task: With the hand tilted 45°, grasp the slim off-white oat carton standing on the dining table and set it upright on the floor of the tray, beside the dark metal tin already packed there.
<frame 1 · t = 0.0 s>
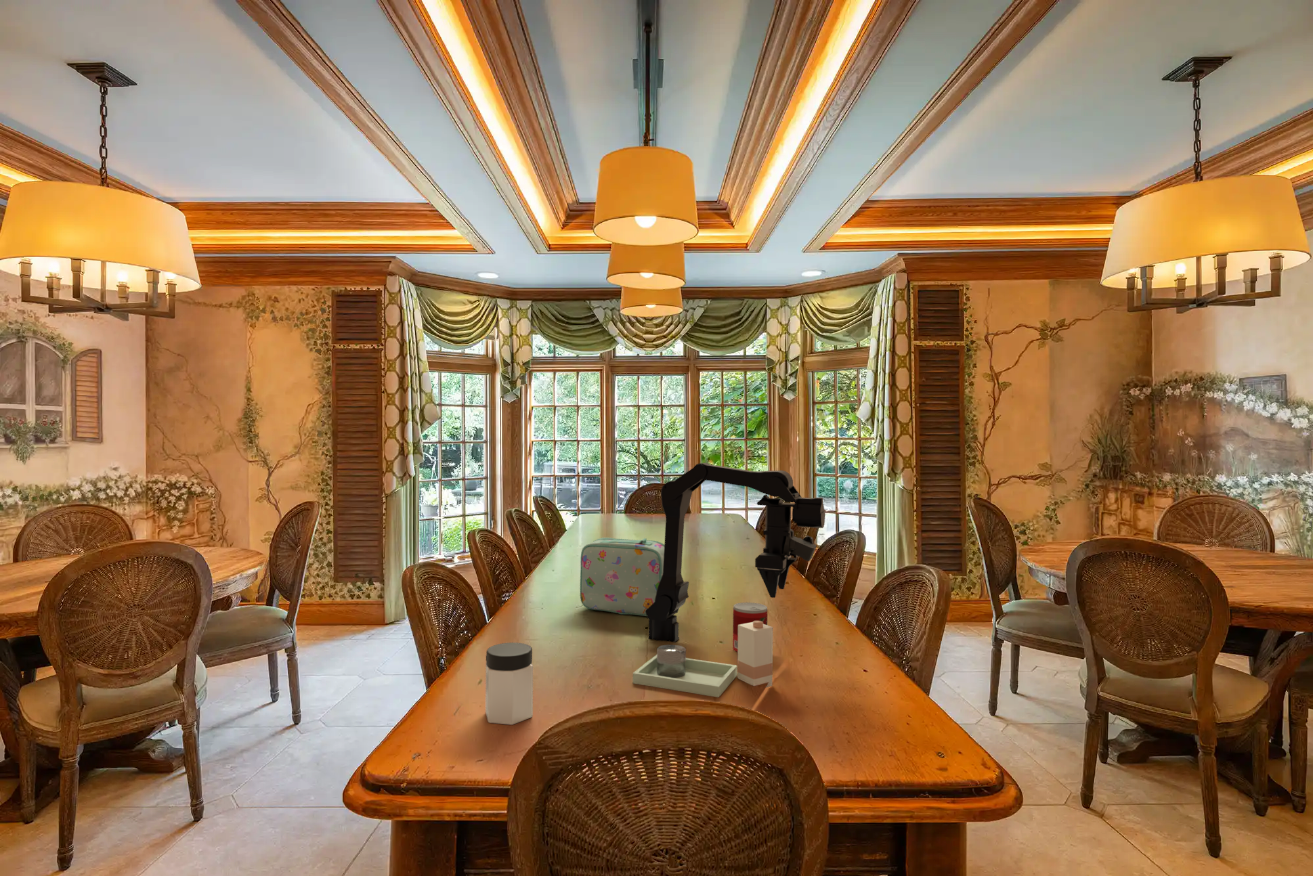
hand: (777, 593, 157), 15 cm above the table, tool pointing down, fingers open, 9 cm apart
jar: (508, 716, 123), on the table
oat carton: (754, 684, 139), on the table
canned food: (749, 654, 159), on the table
tray: (685, 683, 139), on the table
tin: (671, 673, 143), point 1 cm above the table, touching tray
lunch box: (626, 612, 196), on the table
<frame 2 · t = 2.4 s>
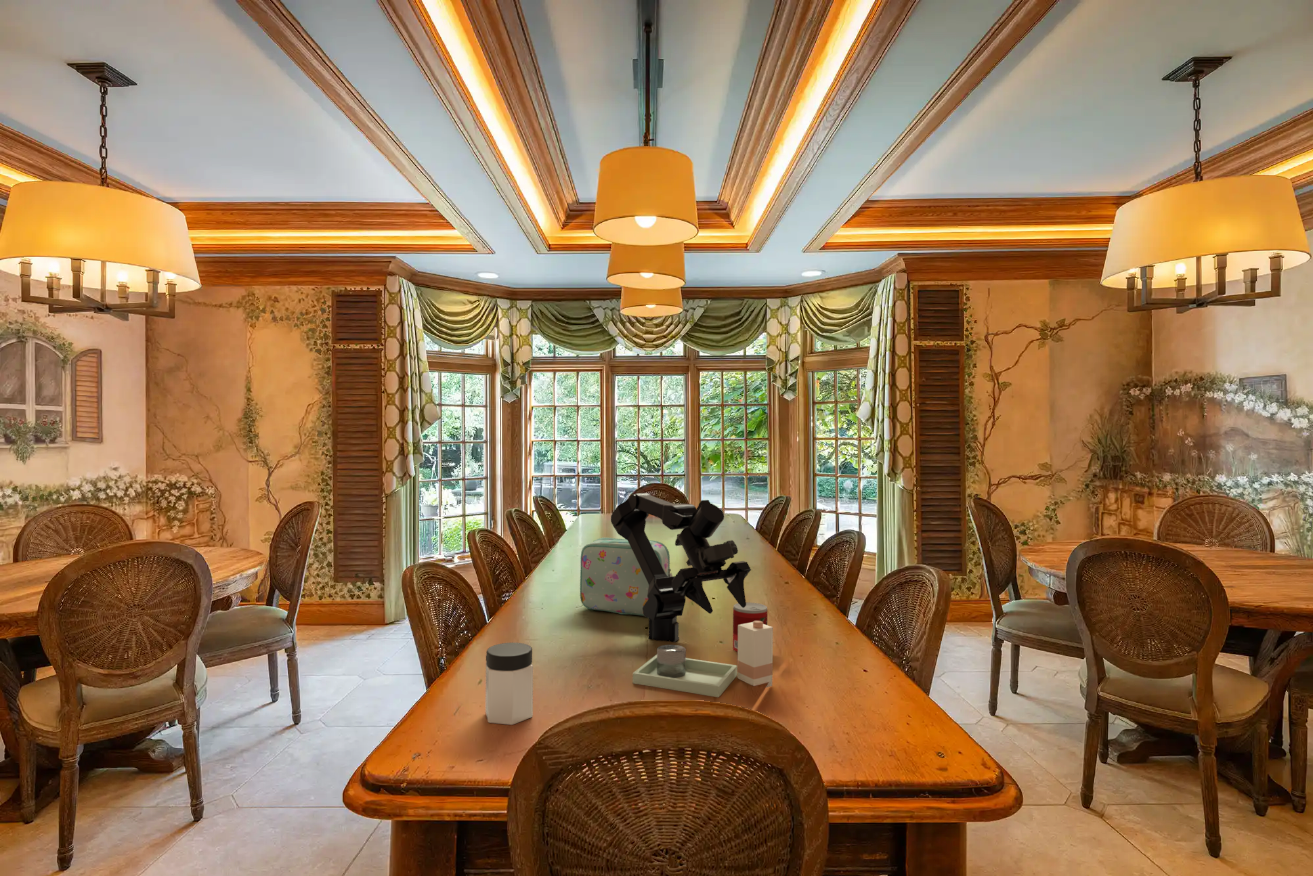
hand: (728, 609, 146), 13 cm above the table, tool tilted 45°, fingers open, 9 cm apart
nothing on the table moved.
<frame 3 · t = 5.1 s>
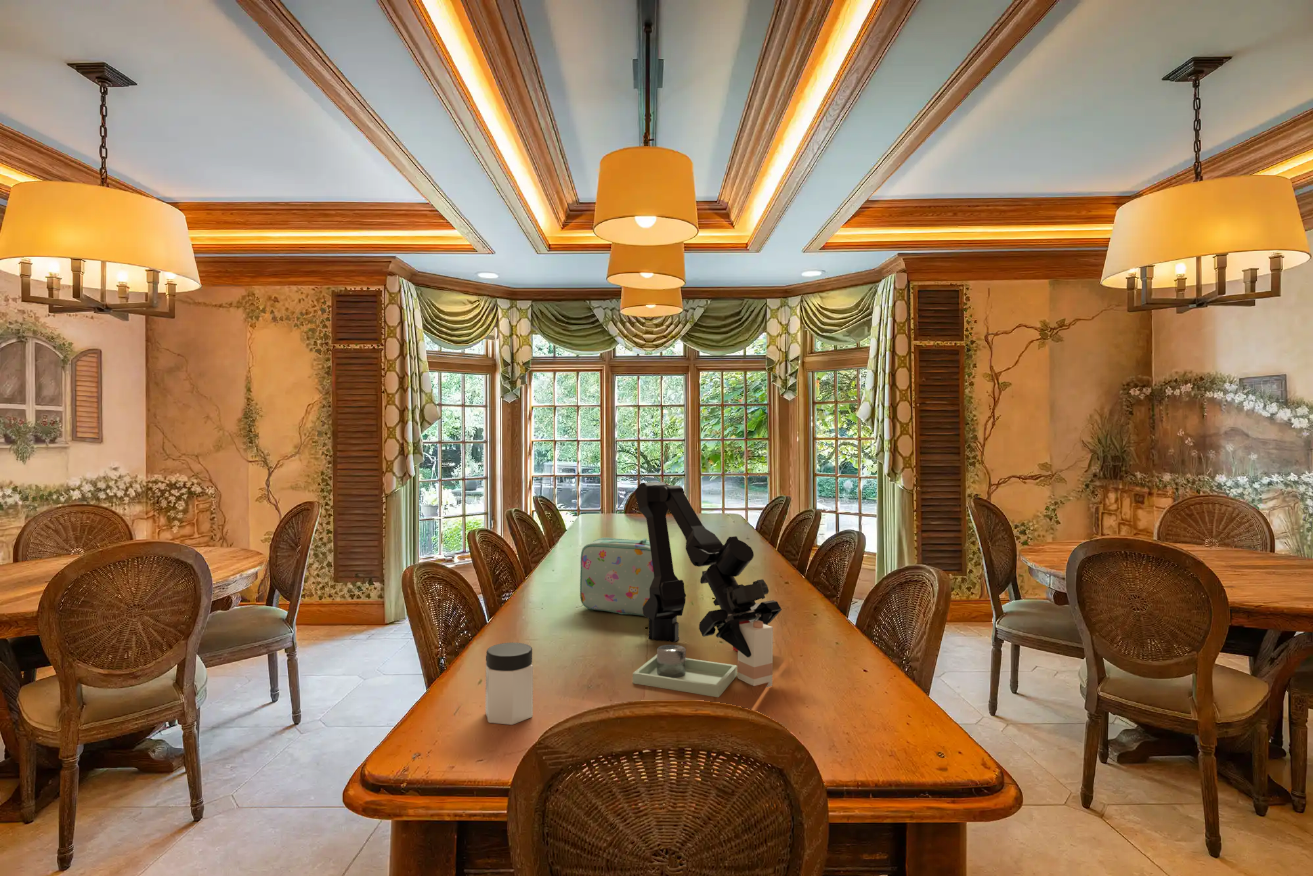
hand: (759, 654, 138), 7 cm above the table, tool tilted 45°, fingers closed on oat carton, 5 cm apart
oat carton: (754, 684, 139), on the table, touching gripper
everything else where it was.
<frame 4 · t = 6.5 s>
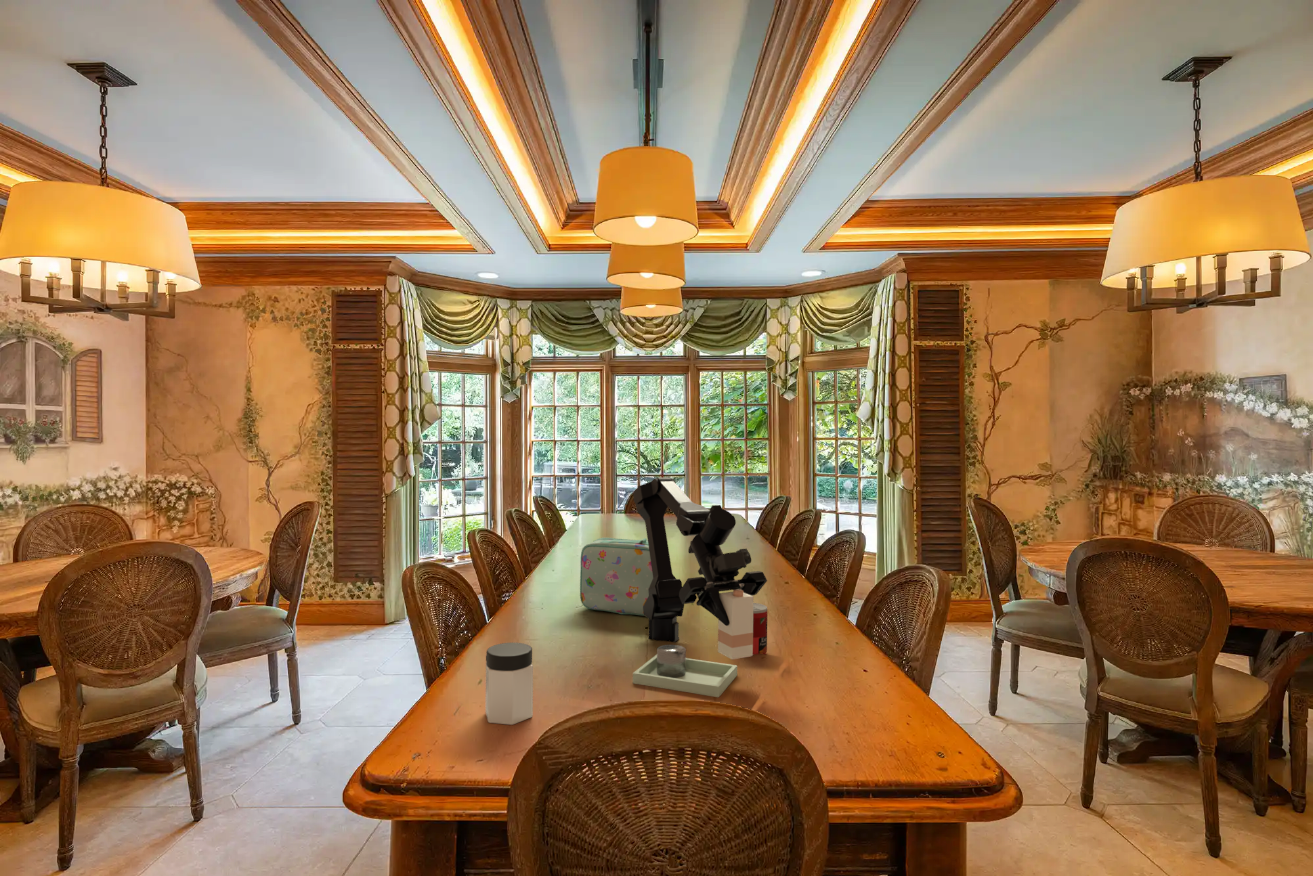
hand: (739, 623, 136), 13 cm above the table, tool tilted 45°, fingers closed on oat carton, 5 cm apart
oat carton: (735, 653, 138), point 7 cm above the table, touching gripper
everything else where it was.
when the fingers open (8 cm above the table, at t = 8.3 s): oat carton stays where it is, resting on tray.
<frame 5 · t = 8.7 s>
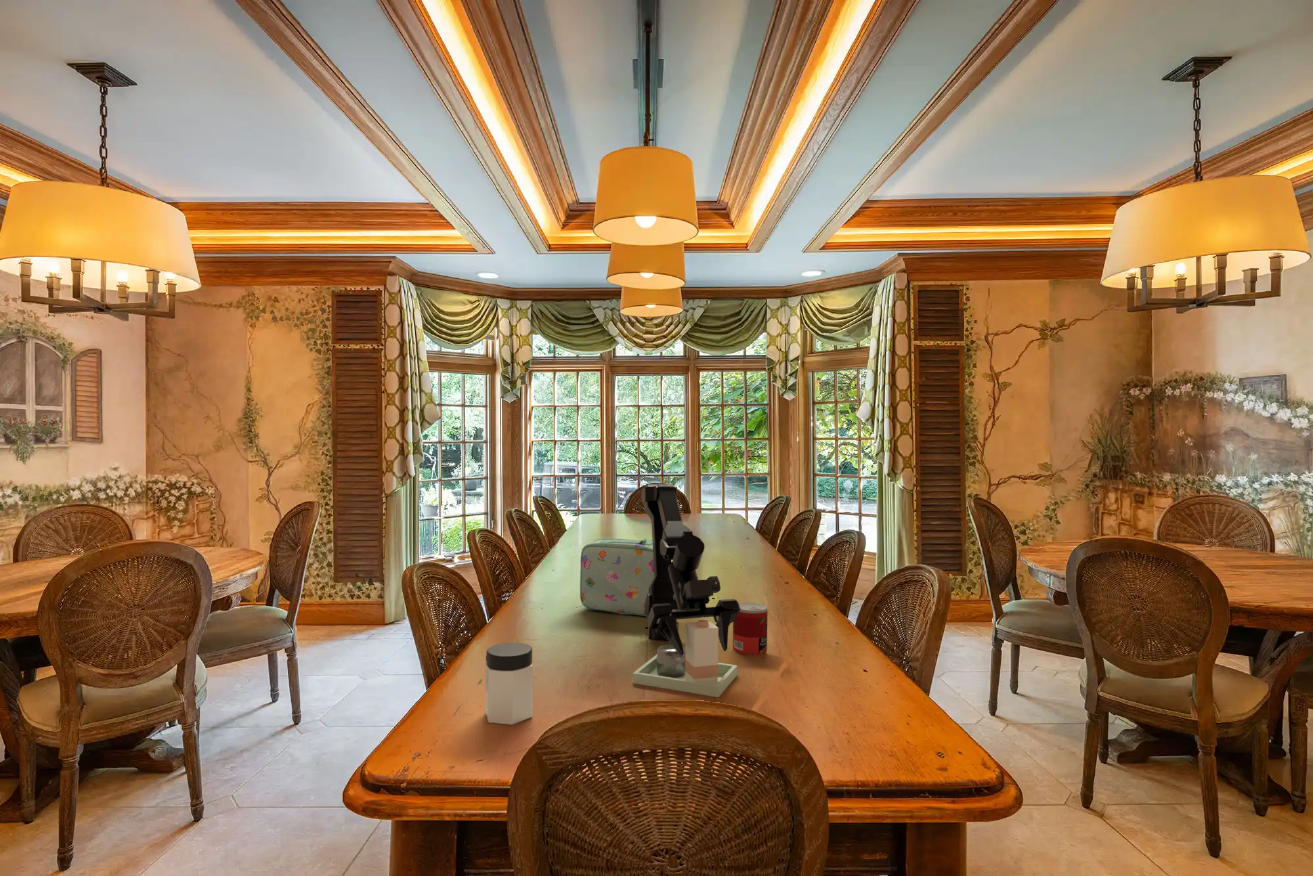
hand: (704, 652, 135), 8 cm above the table, tool tilted 45°, fingers open, 9 cm apart
oat carton: (701, 685, 136), point 1 cm above the table, touching tray
everything else where it was.
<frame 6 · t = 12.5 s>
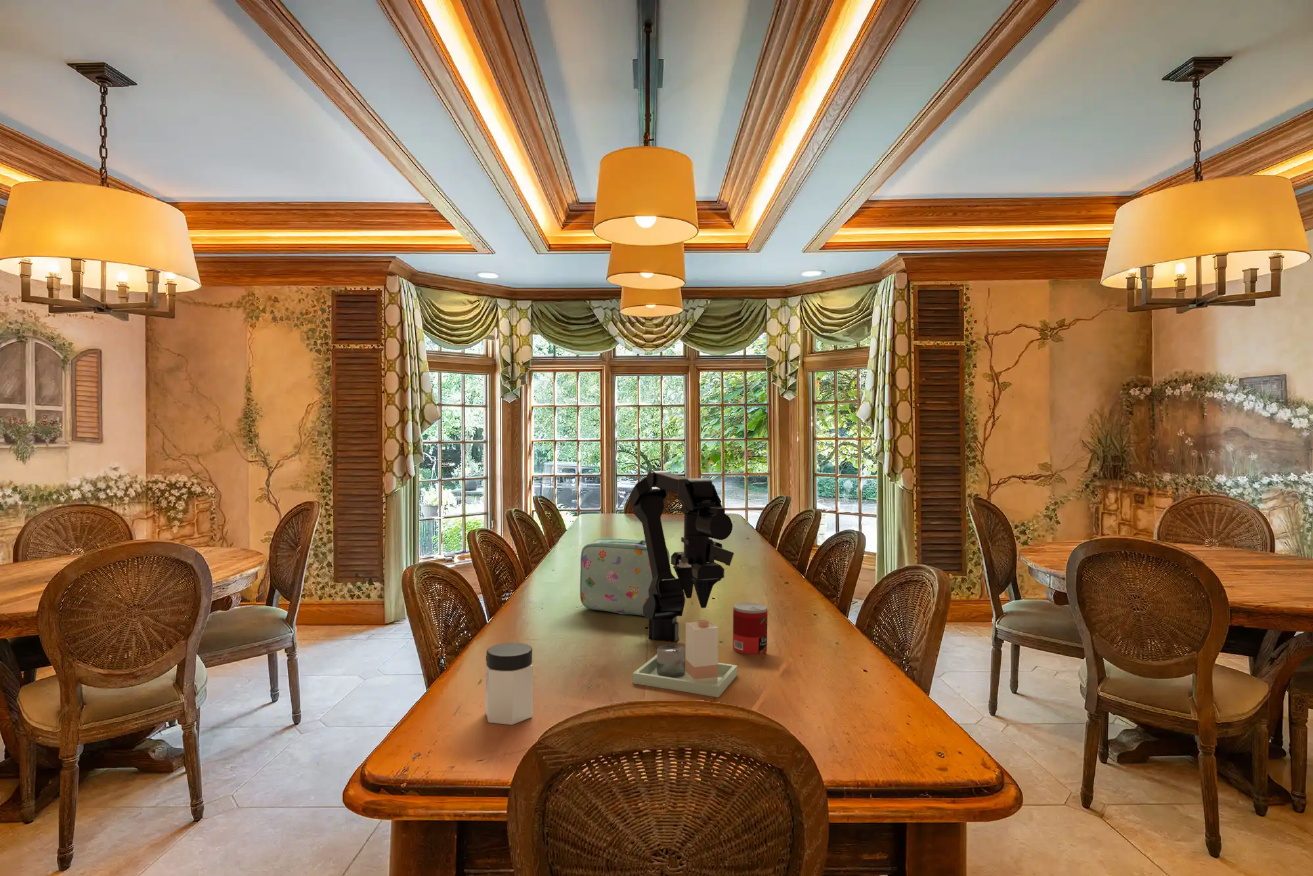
hand: (696, 602, 154), 13 cm above the table, tool pointing down, fingers open, 9 cm apart
nothing on the table moved.
at the end: oat carton inside the target area on the tray (4.5 cm from its centre), point 1.0 cm above the tray's base; oat carton tilted 0°; the gripper is holding nothing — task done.
